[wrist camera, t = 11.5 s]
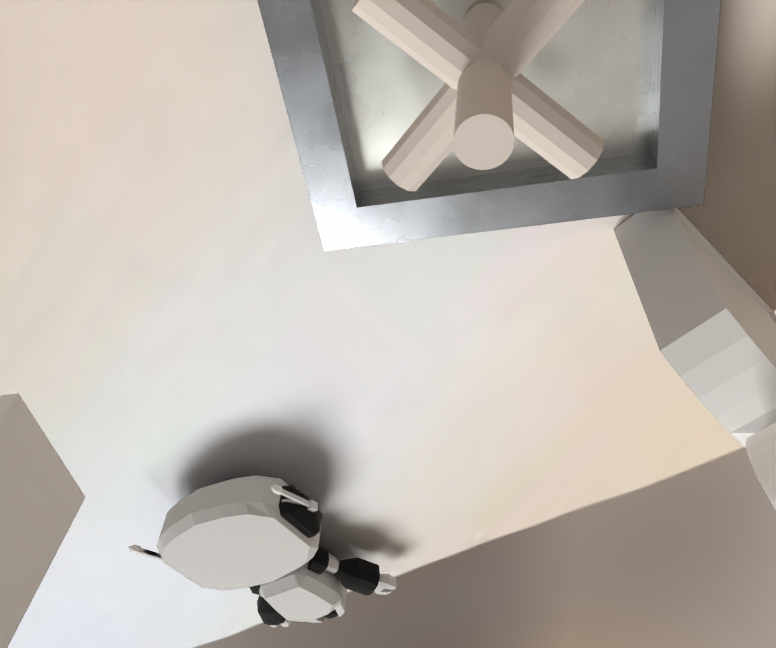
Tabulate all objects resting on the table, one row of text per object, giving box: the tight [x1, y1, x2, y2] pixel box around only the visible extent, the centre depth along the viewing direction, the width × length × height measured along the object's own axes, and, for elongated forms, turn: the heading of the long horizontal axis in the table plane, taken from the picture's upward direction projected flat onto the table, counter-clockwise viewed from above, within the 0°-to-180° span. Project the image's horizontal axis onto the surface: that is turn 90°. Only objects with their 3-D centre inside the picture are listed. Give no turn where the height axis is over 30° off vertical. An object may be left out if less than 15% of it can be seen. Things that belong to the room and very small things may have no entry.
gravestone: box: [614, 208, 776, 509], centre depth 27 cm, size 3×9×18 cm, turn 48°
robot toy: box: [129, 475, 397, 627], centre depth 48 cm, size 12×4×15 cm
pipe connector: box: [351, 0, 604, 191], centre depth 25 cm, size 10×10×10 cm
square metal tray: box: [258, 0, 721, 251], centre depth 28 cm, size 17×17×2 cm
